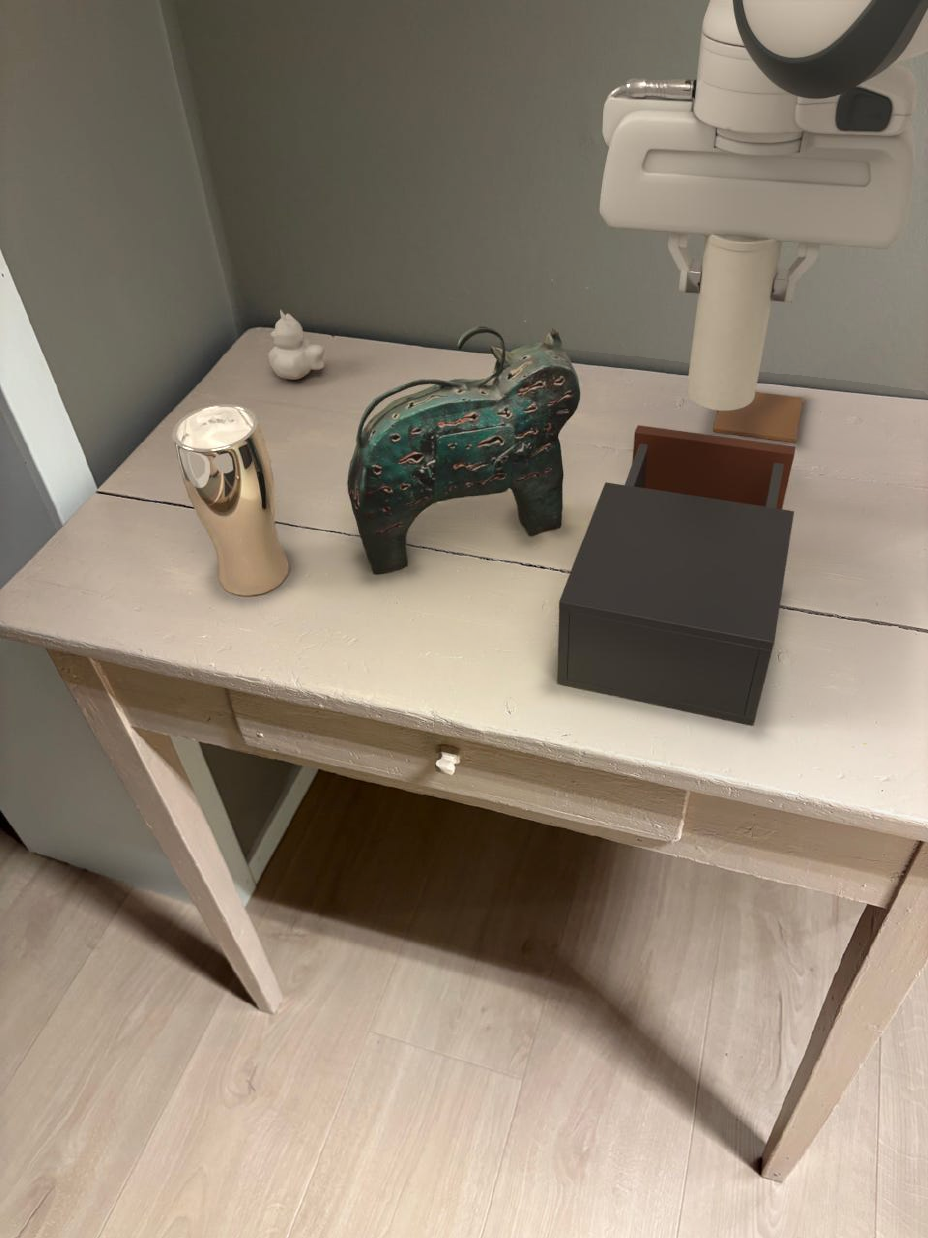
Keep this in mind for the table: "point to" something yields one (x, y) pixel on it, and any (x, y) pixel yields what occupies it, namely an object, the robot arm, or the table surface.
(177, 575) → the table surface
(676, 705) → the cabinet
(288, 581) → the table surface
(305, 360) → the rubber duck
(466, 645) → the table surface
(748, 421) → the coaster
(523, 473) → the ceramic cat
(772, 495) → the drawer
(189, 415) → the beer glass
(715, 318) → the container
